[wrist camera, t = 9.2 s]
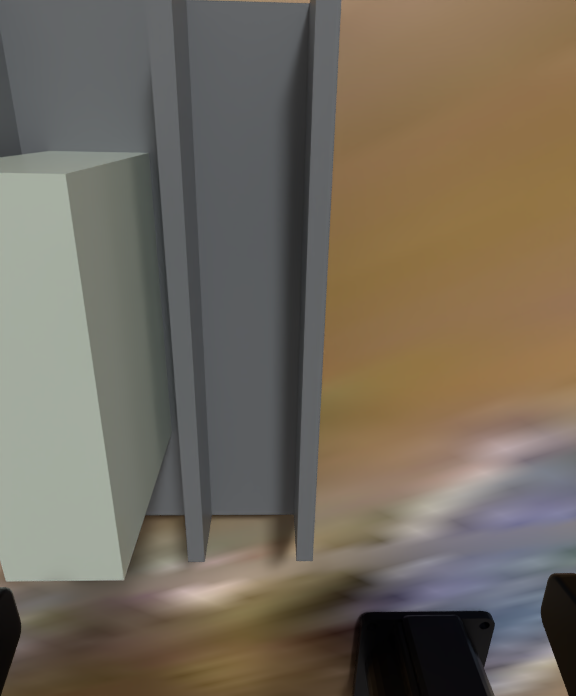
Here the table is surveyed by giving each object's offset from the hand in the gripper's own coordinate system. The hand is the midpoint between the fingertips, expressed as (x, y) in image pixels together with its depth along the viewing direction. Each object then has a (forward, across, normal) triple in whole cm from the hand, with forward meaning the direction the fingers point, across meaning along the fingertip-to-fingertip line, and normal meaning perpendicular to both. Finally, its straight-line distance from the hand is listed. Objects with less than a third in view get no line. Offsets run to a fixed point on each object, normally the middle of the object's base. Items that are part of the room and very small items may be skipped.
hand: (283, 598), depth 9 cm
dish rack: (+12, +6, -2) cm, 13 cm away
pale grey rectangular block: (+11, +6, -2) cm, 12 cm away
